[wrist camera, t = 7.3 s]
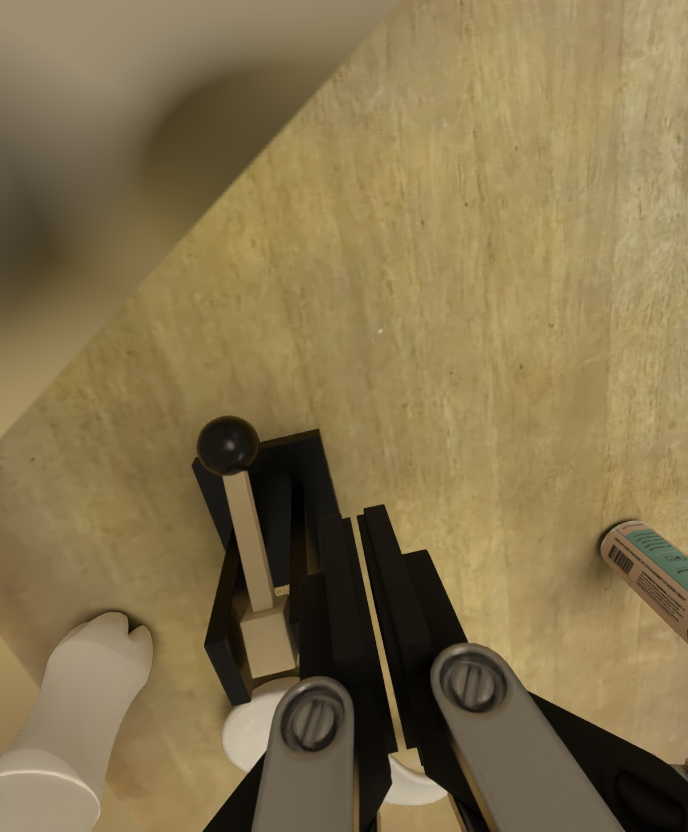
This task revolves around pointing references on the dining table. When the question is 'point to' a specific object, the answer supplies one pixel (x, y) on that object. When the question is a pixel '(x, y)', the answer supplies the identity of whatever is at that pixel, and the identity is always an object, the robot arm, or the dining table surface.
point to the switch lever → (249, 545)
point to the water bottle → (73, 728)
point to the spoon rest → (251, 733)
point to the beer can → (651, 570)
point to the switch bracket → (267, 543)
